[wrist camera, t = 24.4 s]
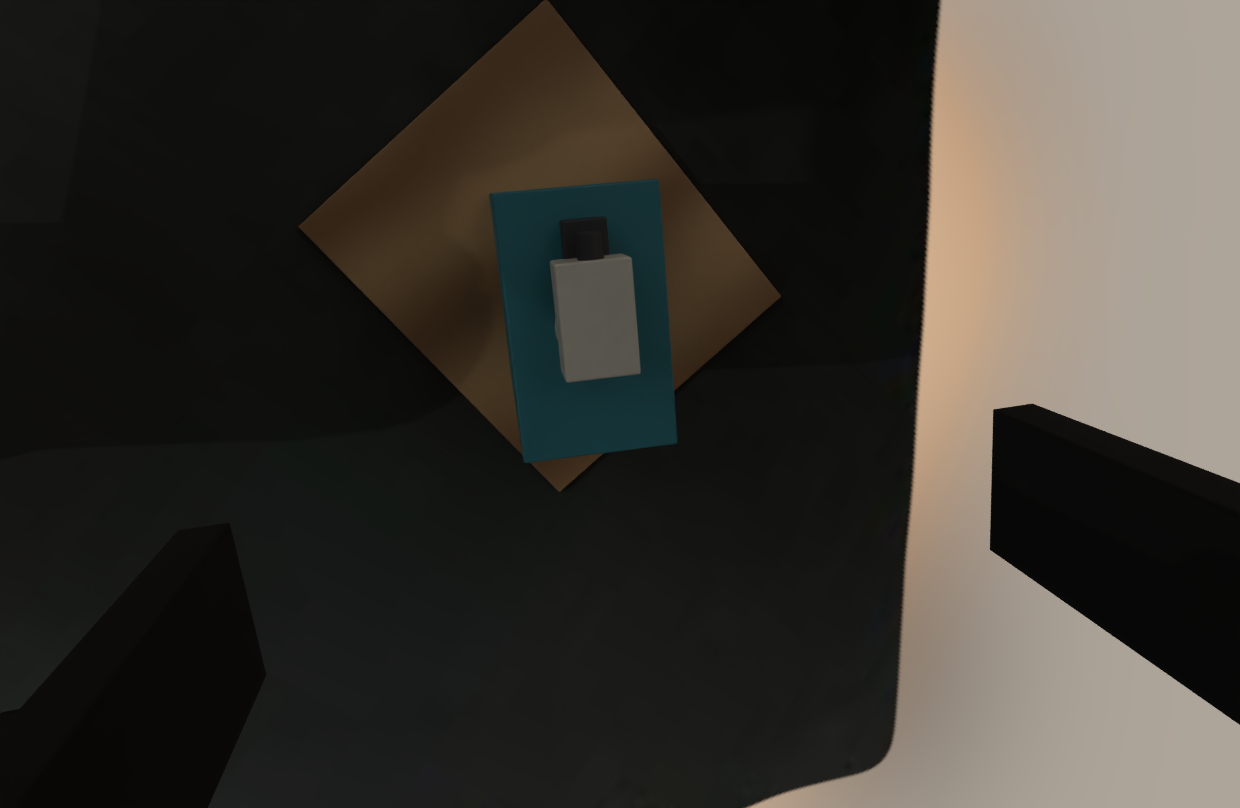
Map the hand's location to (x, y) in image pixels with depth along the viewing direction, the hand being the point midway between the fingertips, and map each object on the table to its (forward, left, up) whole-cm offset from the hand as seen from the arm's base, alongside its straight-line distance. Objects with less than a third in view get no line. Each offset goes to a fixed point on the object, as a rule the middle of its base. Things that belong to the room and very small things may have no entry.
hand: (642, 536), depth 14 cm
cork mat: (-1, +2, -33) cm, 33 cm away
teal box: (+4, -1, -23) cm, 24 cm away
